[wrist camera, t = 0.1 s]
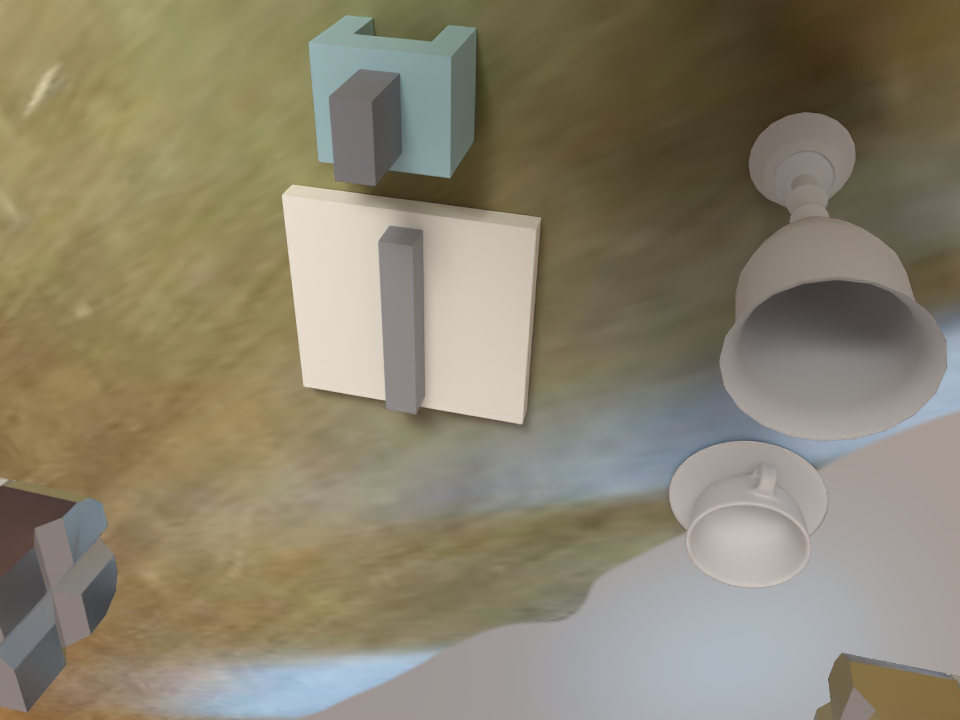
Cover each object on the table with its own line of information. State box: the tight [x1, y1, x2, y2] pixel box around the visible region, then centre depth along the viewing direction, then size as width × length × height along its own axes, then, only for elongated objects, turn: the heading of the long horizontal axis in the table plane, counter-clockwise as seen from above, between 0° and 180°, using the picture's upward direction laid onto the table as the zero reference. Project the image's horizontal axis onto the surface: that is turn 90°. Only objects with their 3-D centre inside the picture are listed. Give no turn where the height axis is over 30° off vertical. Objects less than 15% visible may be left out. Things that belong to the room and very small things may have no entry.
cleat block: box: [309, 15, 477, 186], centre depth 43 cm, size 6×7×9 cm
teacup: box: [669, 441, 829, 588], centre depth 56 cm, size 10×10×5 cm
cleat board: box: [282, 185, 541, 424], centre depth 54 cm, size 14×15×4 cm
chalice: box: [719, 112, 947, 441], centre depth 38 cm, size 7×7×18 cm
